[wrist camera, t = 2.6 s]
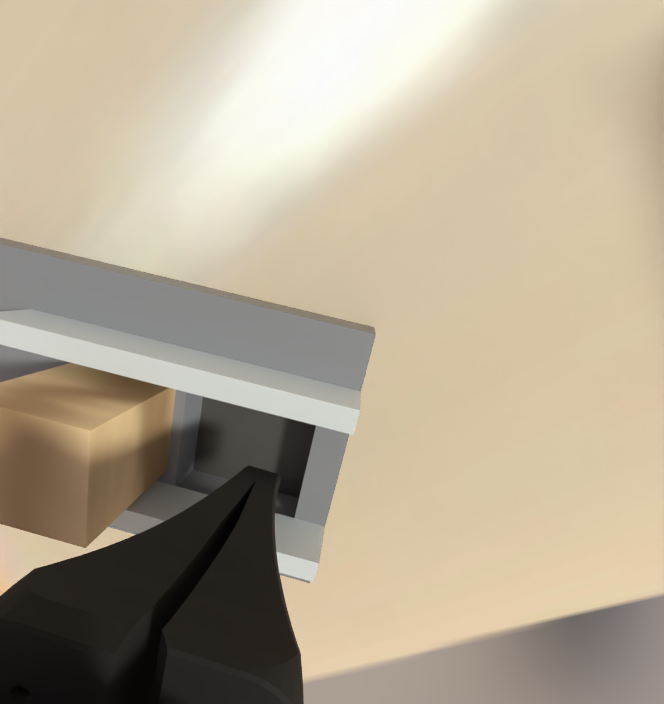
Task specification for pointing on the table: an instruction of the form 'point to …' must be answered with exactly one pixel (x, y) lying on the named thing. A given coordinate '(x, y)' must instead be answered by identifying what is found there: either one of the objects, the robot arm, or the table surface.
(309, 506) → the rail jig base
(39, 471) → the block
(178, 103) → the table surface
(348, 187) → the table surface
